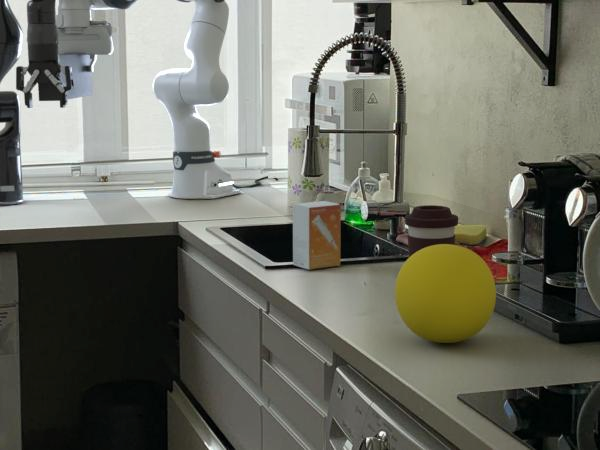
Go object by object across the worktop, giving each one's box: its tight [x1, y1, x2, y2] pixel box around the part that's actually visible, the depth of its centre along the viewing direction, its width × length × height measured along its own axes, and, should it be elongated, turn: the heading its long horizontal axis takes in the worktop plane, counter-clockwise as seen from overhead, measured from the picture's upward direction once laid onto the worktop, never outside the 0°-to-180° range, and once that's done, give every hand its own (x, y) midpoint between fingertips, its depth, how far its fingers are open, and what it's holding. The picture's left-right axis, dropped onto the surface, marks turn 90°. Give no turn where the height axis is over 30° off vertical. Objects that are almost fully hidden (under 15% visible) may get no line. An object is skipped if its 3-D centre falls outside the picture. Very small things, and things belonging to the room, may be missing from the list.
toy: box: [394, 244, 497, 344], centre depth 160 cm, size 15×15×15 cm
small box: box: [292, 200, 342, 271], centre depth 216 cm, size 8×6×13 cm
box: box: [37, 53, 94, 102], centre depth 279 cm, size 28×6×12 cm, turn 175°
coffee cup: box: [404, 204, 459, 258], centre depth 197 cm, size 10×10×15 cm
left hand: (46, 107), depth 263 cm, fingers open, 8 cm apart
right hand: (77, 72), depth 289 cm, fingers closed on box, 6 cm apart
